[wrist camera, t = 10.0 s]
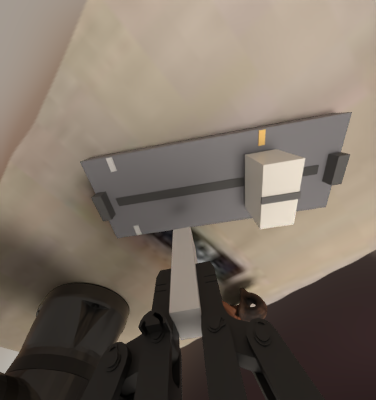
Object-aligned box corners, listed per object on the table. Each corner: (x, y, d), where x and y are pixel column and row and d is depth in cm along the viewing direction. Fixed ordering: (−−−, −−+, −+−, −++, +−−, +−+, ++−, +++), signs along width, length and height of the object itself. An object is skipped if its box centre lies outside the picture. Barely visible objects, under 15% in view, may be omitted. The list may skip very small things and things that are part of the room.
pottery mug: (220, 311, 33) (206, 353, 26) (197, 272, 33) (177, 303, 26) (278, 305, 27) (280, 357, 20) (249, 257, 27) (241, 292, 20)
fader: (244, 207, 18) (260, 230, 14) (244, 154, 15) (263, 165, 11) (272, 203, 18) (295, 225, 14) (276, 148, 15) (307, 158, 11)
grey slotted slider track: (122, 228, 22) (113, 244, 19) (90, 157, 17) (72, 164, 15) (313, 199, 20) (334, 212, 17) (333, 113, 16) (365, 111, 13)
